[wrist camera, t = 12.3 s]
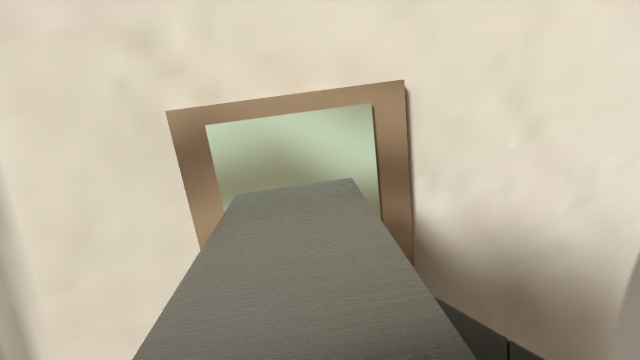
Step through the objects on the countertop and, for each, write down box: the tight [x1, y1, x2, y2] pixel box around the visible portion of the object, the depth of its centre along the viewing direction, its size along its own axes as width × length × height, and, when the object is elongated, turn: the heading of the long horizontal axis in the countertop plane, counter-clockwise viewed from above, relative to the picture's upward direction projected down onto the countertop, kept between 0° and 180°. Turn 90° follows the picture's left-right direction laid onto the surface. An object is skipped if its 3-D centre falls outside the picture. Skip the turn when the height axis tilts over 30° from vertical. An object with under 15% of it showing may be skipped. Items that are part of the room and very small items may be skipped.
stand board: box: [165, 80, 414, 268], centre depth 20 cm, size 22×13×1 cm, turn 7°
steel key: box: [132, 178, 477, 360], centre depth 8 cm, size 4×4×10 cm
